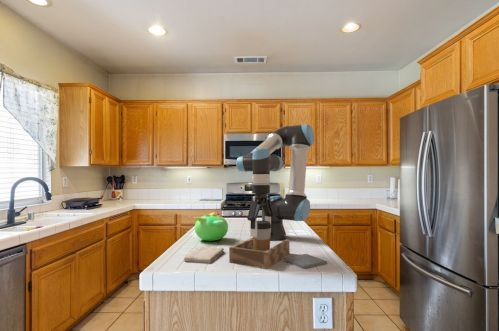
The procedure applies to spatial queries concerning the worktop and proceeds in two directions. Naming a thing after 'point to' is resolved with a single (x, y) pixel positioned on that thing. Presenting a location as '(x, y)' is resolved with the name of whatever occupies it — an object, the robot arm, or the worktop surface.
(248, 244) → the u-shaped wooden frame
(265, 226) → the coffee cup
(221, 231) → the toy bird
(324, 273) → the worktop surface
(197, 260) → the washcloth
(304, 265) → the coaster
